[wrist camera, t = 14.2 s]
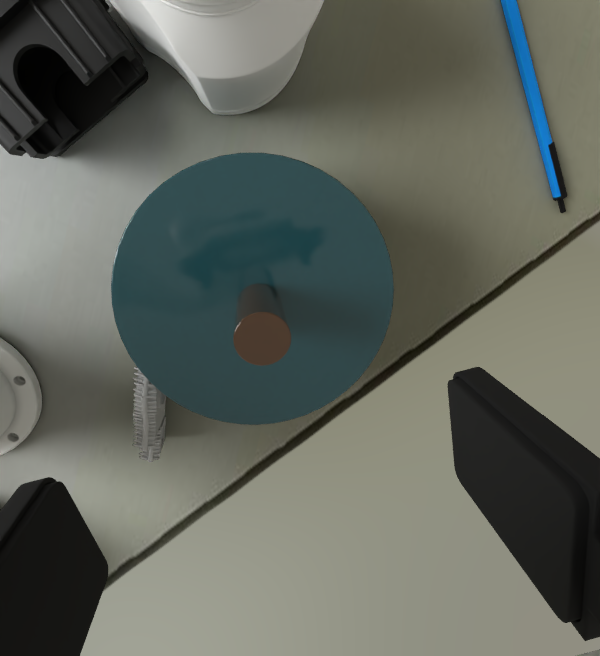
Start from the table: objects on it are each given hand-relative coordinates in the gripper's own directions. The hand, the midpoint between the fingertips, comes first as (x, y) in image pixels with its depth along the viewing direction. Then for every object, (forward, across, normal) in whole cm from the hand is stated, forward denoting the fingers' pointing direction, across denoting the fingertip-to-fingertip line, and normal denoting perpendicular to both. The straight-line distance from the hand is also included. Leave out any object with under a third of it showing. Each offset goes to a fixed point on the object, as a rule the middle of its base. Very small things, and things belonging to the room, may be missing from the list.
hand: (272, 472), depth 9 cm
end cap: (+24, +9, -16) cm, 31 cm away
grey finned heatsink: (+24, +11, +8) cm, 28 cm away
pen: (+24, -24, -8) cm, 35 cm away
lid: (+15, 0, 0) cm, 15 cm away
